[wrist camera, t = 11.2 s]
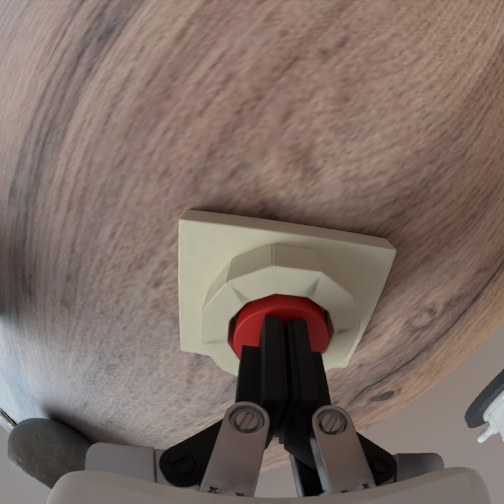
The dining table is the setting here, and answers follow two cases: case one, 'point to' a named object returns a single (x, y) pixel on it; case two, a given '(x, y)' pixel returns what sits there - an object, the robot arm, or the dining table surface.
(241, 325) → the button
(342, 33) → the dining table surface
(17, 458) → the bowl
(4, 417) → the newspaper
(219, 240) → the button box
